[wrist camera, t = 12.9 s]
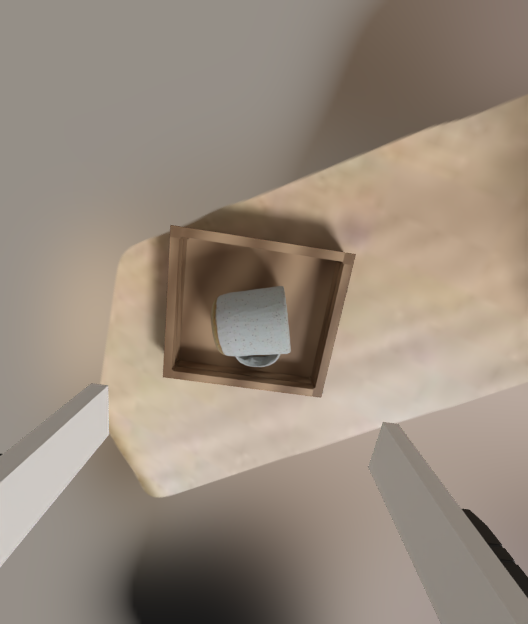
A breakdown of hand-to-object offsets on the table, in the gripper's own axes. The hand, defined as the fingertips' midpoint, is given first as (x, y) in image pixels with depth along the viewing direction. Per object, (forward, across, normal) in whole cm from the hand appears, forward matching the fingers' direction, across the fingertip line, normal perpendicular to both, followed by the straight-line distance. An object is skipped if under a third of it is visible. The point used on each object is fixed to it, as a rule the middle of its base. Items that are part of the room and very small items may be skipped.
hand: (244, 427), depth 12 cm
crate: (+22, 0, 0) cm, 22 cm away
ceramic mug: (+21, 0, +1) cm, 21 cm away
